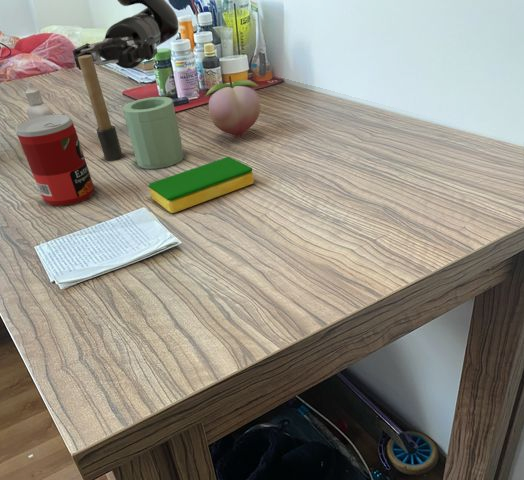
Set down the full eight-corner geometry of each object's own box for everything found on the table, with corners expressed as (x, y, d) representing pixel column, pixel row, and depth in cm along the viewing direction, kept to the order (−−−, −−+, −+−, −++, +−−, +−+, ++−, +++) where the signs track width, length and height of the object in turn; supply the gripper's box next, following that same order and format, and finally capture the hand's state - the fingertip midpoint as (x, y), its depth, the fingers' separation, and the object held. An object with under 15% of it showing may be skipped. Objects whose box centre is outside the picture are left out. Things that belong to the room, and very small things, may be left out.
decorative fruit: (254, 124, 97) (248, 66, 91) (268, 137, 91) (262, 75, 84) (207, 134, 95) (197, 75, 89) (217, 148, 89) (207, 85, 83)
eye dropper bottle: (63, 144, 100) (40, 77, 92) (67, 152, 96) (42, 83, 88) (41, 149, 99) (15, 82, 91) (43, 158, 95) (16, 88, 87)
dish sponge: (151, 199, 76) (147, 183, 74) (230, 171, 81) (228, 155, 79) (172, 214, 71) (168, 198, 69) (255, 183, 76) (253, 167, 74)
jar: (154, 172, 84) (140, 114, 78) (128, 162, 88) (113, 107, 83) (192, 156, 87) (182, 100, 82) (166, 148, 92) (154, 94, 86)
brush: (110, 162, 90) (80, 59, 79) (101, 158, 92) (70, 58, 81) (126, 156, 91) (98, 54, 81) (117, 152, 93) (88, 53, 83)
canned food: (91, 203, 77) (65, 127, 70) (38, 210, 77) (7, 135, 70) (99, 182, 83) (76, 111, 76) (50, 189, 83) (22, 118, 76)
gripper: (90, 22, 98) (55, 39, 86) (161, 15, 96) (136, 31, 84) (102, 66, 103) (71, 88, 91) (170, 60, 101) (147, 81, 89)
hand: (102, 61), depth 87 cm, fingers open, 8 cm apart
